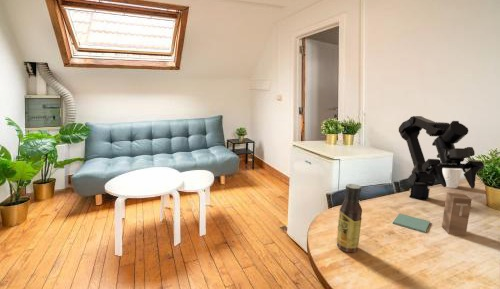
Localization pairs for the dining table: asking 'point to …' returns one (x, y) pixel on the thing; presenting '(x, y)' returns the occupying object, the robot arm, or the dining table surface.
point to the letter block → (456, 213)
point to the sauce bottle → (350, 220)
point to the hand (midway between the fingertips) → (459, 187)
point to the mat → (411, 222)
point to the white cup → (451, 177)
